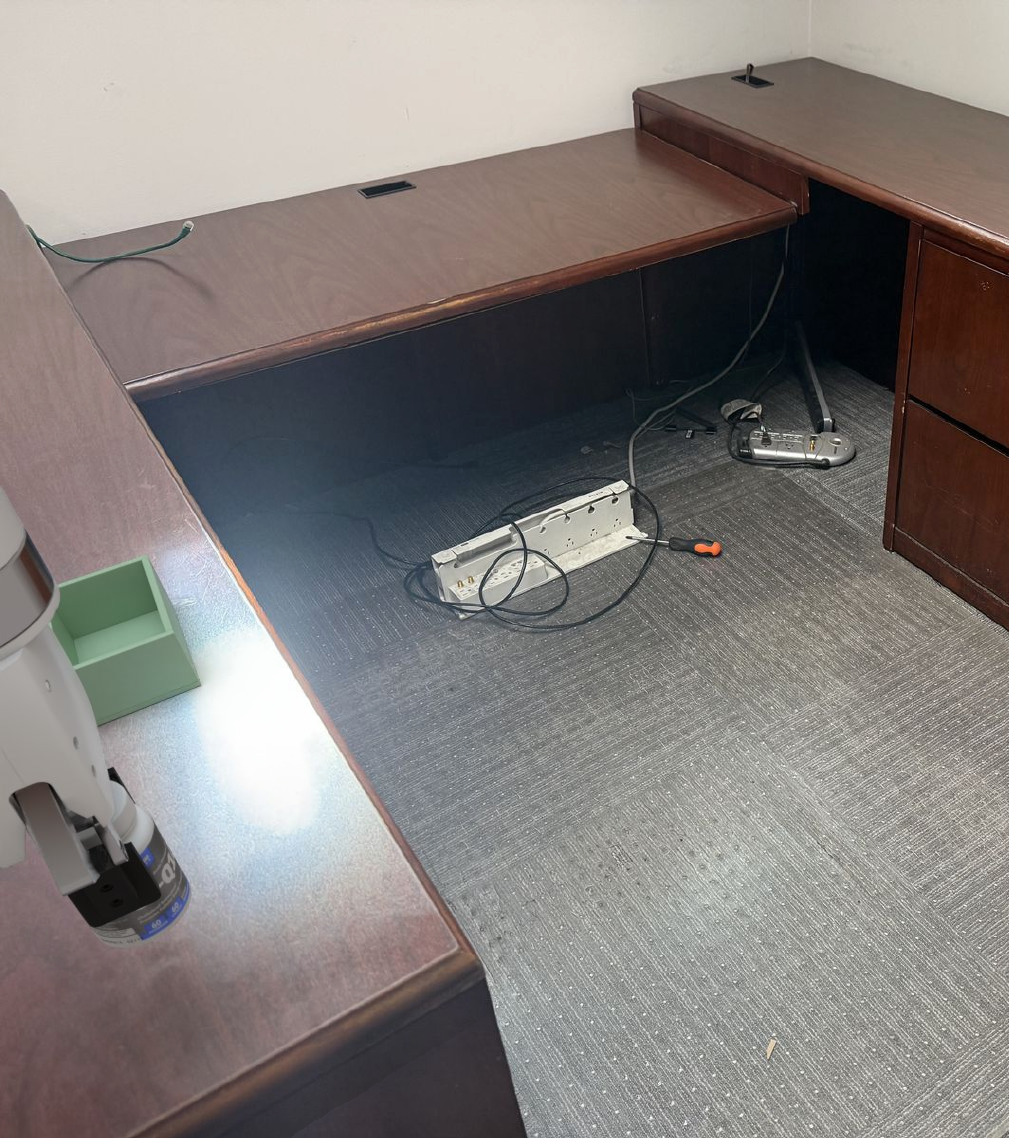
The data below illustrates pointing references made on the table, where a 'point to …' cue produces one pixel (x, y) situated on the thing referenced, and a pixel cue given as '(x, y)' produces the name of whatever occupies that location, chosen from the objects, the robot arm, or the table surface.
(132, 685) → the bin
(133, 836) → the pill bottle
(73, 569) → the table surface
